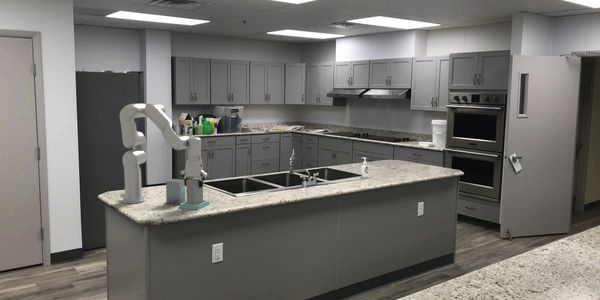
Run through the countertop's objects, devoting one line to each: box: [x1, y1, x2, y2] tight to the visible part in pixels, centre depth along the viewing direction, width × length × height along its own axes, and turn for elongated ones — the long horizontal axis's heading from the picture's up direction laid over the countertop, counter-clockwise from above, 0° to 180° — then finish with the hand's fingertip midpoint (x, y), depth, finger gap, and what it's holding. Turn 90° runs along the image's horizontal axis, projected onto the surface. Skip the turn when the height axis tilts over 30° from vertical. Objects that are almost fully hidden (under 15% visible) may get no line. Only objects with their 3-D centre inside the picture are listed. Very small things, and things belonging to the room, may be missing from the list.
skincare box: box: [185, 177, 204, 205], centre depth 290 cm, size 8×7×16 cm
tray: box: [179, 199, 210, 210], centre depth 291 cm, size 12×13×2 cm
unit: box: [163, 178, 186, 206], centre depth 296 cm, size 11×9×14 cm
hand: (193, 186), depth 289 cm, fingers open, 9 cm apart
